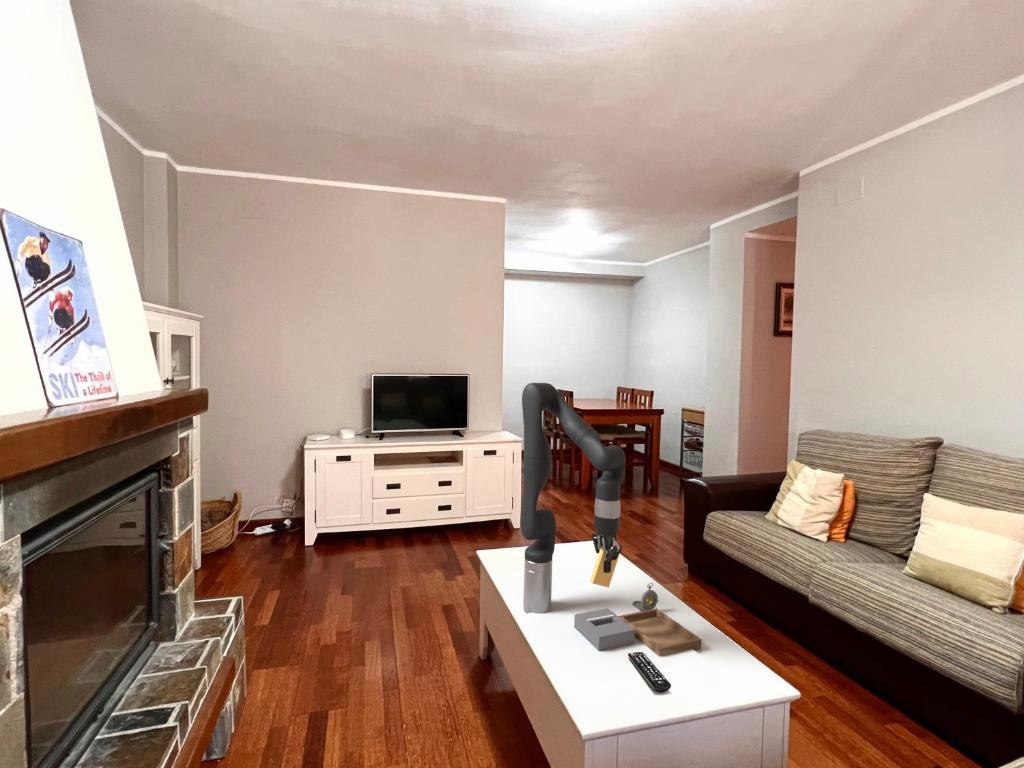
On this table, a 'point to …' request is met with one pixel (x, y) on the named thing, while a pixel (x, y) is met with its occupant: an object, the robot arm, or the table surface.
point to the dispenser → (604, 629)
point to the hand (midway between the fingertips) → (605, 571)
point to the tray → (661, 632)
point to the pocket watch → (647, 600)
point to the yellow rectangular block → (602, 571)
